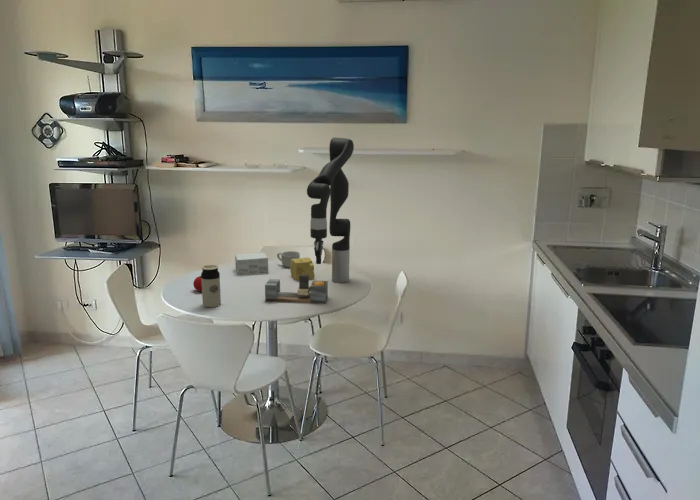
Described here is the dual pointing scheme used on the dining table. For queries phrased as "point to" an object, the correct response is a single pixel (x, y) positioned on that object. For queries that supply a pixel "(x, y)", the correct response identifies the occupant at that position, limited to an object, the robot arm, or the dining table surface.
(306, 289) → the carriage
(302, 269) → the cheese
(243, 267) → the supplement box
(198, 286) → the tomato
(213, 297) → the travel mug
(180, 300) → the dining table surface
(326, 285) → the stand
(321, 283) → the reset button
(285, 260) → the teacup
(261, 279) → the dining table surface
